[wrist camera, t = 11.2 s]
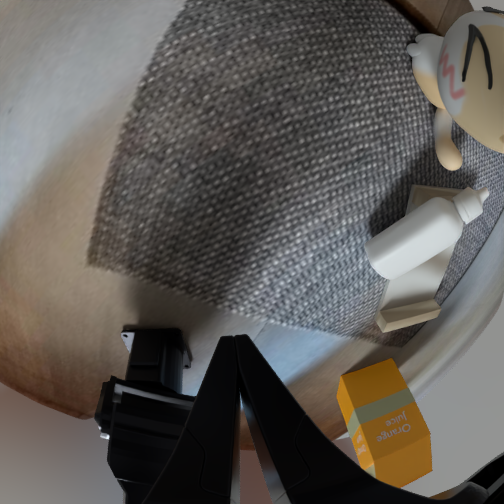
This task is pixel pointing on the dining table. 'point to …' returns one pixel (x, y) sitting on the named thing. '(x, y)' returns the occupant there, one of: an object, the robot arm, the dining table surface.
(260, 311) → the dining table surface
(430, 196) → the u rest
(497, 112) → the kitten
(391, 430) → the orange juice
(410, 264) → the eye dropper bottle
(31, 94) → the dining table surface
